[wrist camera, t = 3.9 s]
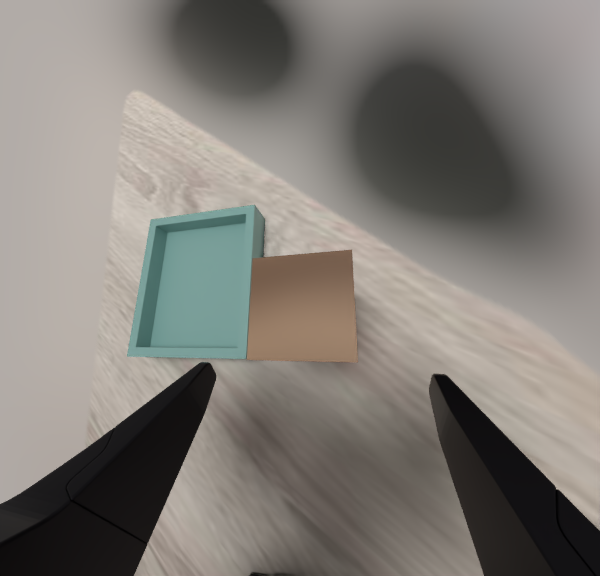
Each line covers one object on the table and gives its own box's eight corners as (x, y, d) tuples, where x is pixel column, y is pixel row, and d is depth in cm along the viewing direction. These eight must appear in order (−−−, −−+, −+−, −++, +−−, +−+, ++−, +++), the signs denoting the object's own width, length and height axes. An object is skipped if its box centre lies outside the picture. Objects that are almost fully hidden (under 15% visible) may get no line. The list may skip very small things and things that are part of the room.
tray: (258, 357, 20) (245, 358, 18) (150, 355, 23) (127, 356, 20) (264, 218, 23) (254, 204, 21) (169, 230, 26) (150, 219, 24)
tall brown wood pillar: (356, 351, 18) (357, 362, 8) (302, 351, 19) (246, 359, 9) (353, 297, 19) (352, 249, 10) (302, 299, 20) (252, 258, 11)
